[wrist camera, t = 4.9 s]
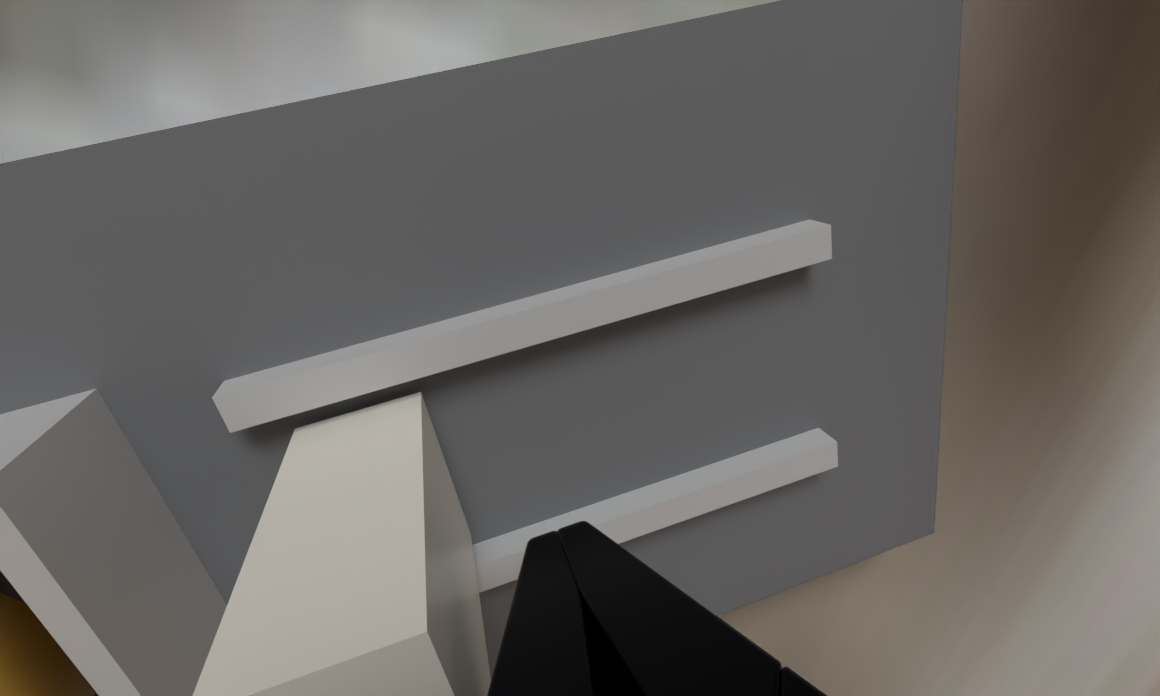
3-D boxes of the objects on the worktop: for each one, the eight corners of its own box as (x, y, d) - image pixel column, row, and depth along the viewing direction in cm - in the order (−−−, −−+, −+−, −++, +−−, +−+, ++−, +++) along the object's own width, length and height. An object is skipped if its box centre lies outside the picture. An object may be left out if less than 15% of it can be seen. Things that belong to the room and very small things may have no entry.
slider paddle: (421, 391, 10) (427, 631, 5) (470, 534, 11) (511, 830, 6) (294, 428, 9) (184, 719, 5) (360, 570, 11) (321, 909, 6)
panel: (878, -13, 11) (1132, -85, 7) (876, 486, 16) (1030, 609, 12) (-1053, 394, 7) (-2937, 750, 3) (-286, 907, 12) (-643, 1309, 8)
